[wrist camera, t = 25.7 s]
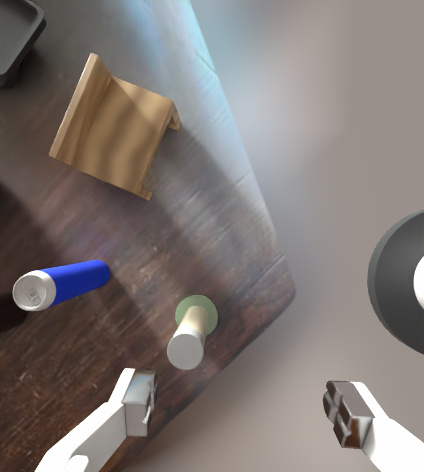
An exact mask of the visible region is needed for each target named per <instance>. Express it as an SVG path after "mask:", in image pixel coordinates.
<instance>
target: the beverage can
mask: <svg viewBox="0 0 424 472" xmlns="http://www.w3.org/2000/svg"><path fill="white" fill-rule="evenodd" d="M109 278H110V270H109V267H108V266H107V265H106V264H105V263H104V262H102V261H99V260H95V261H89V262H83V263H77V264H71V265H66V266H60V267H54V268H48V269H43V270H37V271H32V272H29V273H27V274H26V275H24V276H22V277H21V278H19V279H18V280H17V282H16V283H15V285H14V288H13V298H14V301H15V302H16V304H17V305H18V306H19V307H20V308H22V309H24V310H27V311H40V310H44V309H46V308H49V307H51V306H54V305H56V304H59V303H61V302H64V301H66V300H69V299H71V298H74V297H76V296H79V295H82V294H84V293H87V292H89V291H92V290H94V289H97V288H99V287H102V286H104V285H105V284H106V283H107V282H108V280H109Z"/></svg>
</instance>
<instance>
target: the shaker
mask: <svg viewBox="0 0 424 472" xmlns="http://www.w3.org/2000/svg"><path fill="white" fill-rule="evenodd" d="M208 321H209V316H208V313H207V311H206V310H205V309H204V308H202V307H200V306H192V307H190V308H189V309H187V311H186V312H185V314H184V316H183V318H182V320H181V322H180V324H179V326H178V328H177V330H176V332H175V333H174V335H173V336H172V338H171V340H170V342H169V344H168V348H167V354H168V358H169V360H170V362H171V363H172V364H173V365H174V366H175V367H177V368H179V369H181V370H190V369H193V368H195V367H196V366H198V365H199V363H200V362H201V360H202V358H203V353H204V347H205V338H206V332H207V326H208Z"/></svg>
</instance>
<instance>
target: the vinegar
mask: <svg viewBox="0 0 424 472" xmlns="http://www.w3.org/2000/svg"><path fill="white" fill-rule="evenodd" d="M26 314H27V310H24V309H22V308H20V307H19V306H18V305H17V304H16V302H15V301H14V298H13V294H10V293H9V294H4V295H0V334H1V333H3V332H6V331H8V330H10V329H13V328H15V327H17V326H18V325H20V324H21V323H22V322H23V321H24V319H25V317H26Z"/></svg>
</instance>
